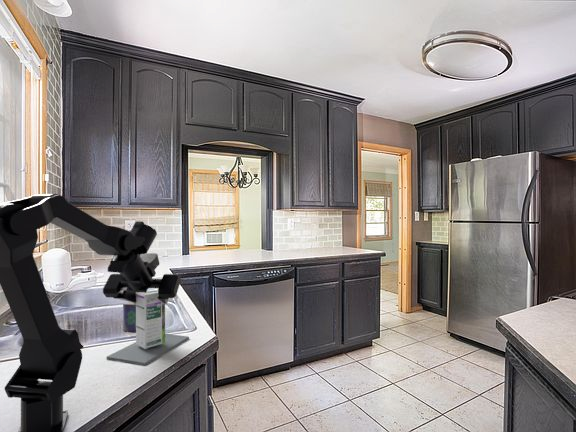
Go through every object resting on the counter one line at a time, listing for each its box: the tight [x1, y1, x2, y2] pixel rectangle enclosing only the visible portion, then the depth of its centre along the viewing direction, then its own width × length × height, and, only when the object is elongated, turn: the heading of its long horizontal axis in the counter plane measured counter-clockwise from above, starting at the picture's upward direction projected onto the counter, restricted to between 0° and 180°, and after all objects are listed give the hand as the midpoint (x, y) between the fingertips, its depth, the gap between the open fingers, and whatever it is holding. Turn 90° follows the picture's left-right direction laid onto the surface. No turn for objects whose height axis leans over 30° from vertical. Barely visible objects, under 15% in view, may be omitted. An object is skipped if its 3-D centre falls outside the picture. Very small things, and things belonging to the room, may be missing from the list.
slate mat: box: [106, 333, 190, 366], centre depth 87 cm, size 18×12×1 cm, turn 163°
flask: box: [122, 301, 136, 334], centre depth 100 cm, size 9×3×11 cm, turn 76°
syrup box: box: [135, 288, 166, 349], centre depth 87 cm, size 6×6×14 cm
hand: (152, 302), depth 89 cm, fingers closed on syrup box, 8 cm apart
